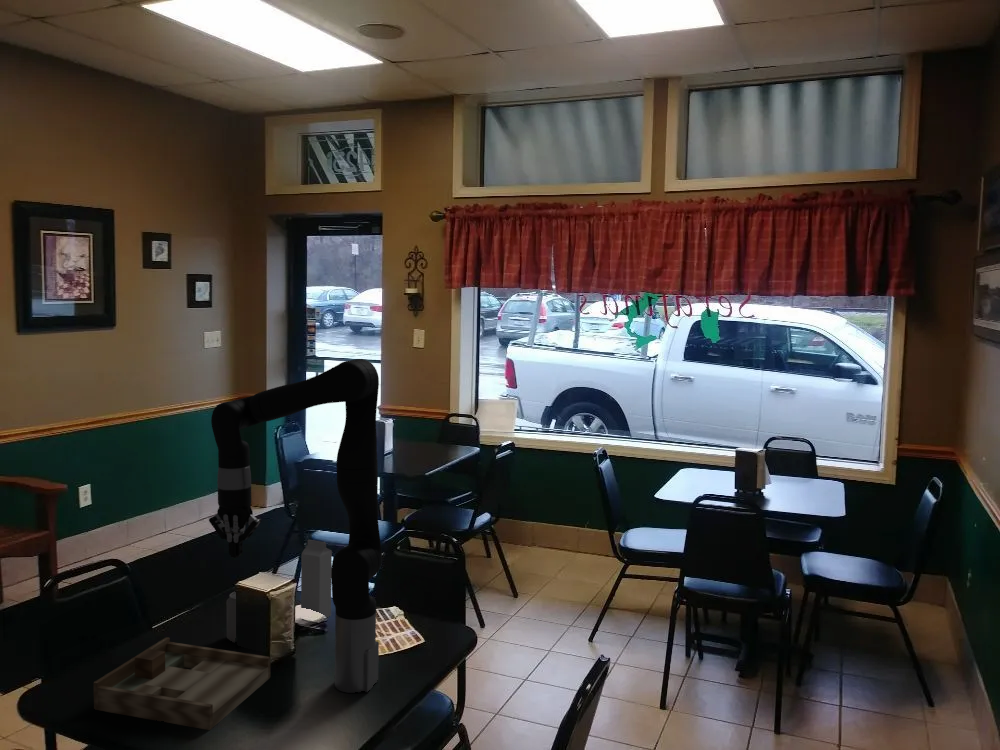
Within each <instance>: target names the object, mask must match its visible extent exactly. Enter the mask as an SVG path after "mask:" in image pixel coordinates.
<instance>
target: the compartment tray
mask: <svg viewBox="0 0 1000 750" xmlns="http://www.w3.org/2000/svg"><path fill="white" fill-rule="evenodd" d="M147 649H151V650H157V651H164V652H165V671H164V672H163V673H161V674H160V675H158V676H157V677H155V678H154V679H146V678H140V677H135V657H136V656H138V655H139V654H141V653H143V652H144V651H146V650H147ZM136 656H134V657H132V658H131V659H129V660H127V661H125V662H124V663H122V664H120V665H119V666H118V667H116V668H114V669H113V670H111V671H110V672H108V673H106V674H104V676H102V677H100V678H99V679H97V680H95V681H93V710H94V709H95V711H101V712H106V713H112V714H118V715H124V716H129V717H135V718H140V719H144V720H145V719H146V720H151V721H156V720H157V722H161V721H164V722H163V723H168V724H173V725H174V724H175V725H178V726H184V727H185V726H186V727H191V728H197V729H201V730H208V731H211V730H212V729H213V728H214V727H215V726H217V725H218V724H219V723H220V722H221V721H222V720H223V719H225V718H226V717H227V716H228V715H229V714H231V712H232V711H234V710H235V709H236V708H237V707H239V705H241V704H242V703H243V702H244V701H245V700H246V699H247V698H249V697H250V696H251V695H252V694H253V693H254V692H255V691H257V690H258V689H259V688H260V687H262V686H263V685H264V684H265V683H266V682H267V681H268V680H269V679H270V678H271V656H266V655H260V654H254V653H248V652H241V651H240V652H239V651H233V650H226V649H221V648H220V649H219V648H212V647H207V646H200V645H194V644H186V643H179V642H173V641H170V637H167V636H166V637H164V638H162V639H161V640H159V641H158V642H157V643H154V644H153V645H151V646H150V647H148V648H146V649H145V650H143V651H142V652H140V653H138V654H137V655H136Z"/></svg>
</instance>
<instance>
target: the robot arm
mask: <svg viewBox="0 0 1000 750" xmlns="http://www.w3.org/2000/svg"><path fill="white" fill-rule="evenodd" d="M379 387H380V378H379V374H378V371H377V368H376V367H375V366H374V364H373V363H372V362H370V361H369V360H366V359H362V358H359V359H351V360H346V361H342V362H340V363H339V364H337V365H335V366H334V367H331V368H329V369H327V370H325V371H323V372H321V373H320V374H318V375H315V376H313V377H309V378H307V379H304V380H301V381H298V382H293V383H289V384H284V385H280V386H276V387H274V388H269V389H266V390H263V391H260V392H258V393H254V394H253V395H250V396H247V397H246V396H245V397H242V398H238V399H234V400H230V401H224V402H221V403H219V404H217V405H216V406H215V407H214V409H213V410H212V414H211V417H210V418H211V419H210V420H211V429H212V432H213V437H214V440H215V444H216V447H217V450H218V452H217V455H218V460H217V461H218V467H217V468H218V469H217V482H216V483H217V504H218V508H217V513H216V514H215V515H213V516H211V517H210V518H208V522H209V523H210V525H211V526H212V527H213V529H214V530H215V532H216V533H217V535H218V536H219V538H220V539H221V540H226V541H227V542H228V554H229V555H230V558H232V559H234V558H235V559H238V558H240V557H241V555H243V552H244V550H243V549H244V546H243V543H244V541H246V540H248V539H249V538H250V539H251V536H252V535H253V534H254V532H255V531H256V530H257V529H258V527H259V526H260V524H261V523H262V519H261V518H257V516H255V515H253V509H252V507H251V506H252V472H251V462H250V460H251V459H250V458H251V457H250V454H251V453H250V452H251V451H250V445H249V443H248V442H247V441H246V440H242V437H241V432H240V431H241V430H243V429H246V428H249V427H252V426H256V425H258V424H261V423H265V422H270V421H274V420H278V419H281V418H285V417H289V416H290V415H293V414H297V413H299V412H302V411H303V410H307V409H309V408H313V407H317V406H320V405H325V404H334V403H335V404H336V403H342V402H343V403H345V422H344V427H343V432H342V435H341V439H340V441H339V446H338V450H337V454H336V486H337V487H336V488H337V492H338V493H339V494H338V495H339V497H340V500H341V502H342V504H343V506H344V509H345V511H346V513H347V517H348V526H349V527H348V531H349V533H348V535H349V536H348V545H347V546H345V547H343V548H342V549H339V550H338V551H337V553H336V554H335V555H334V556H333V559H332V569H331V600H332V602H333V605H334V608H335V609H334V610H335V621H334V622H335V625H334V626H335V627H334V629H335V630H334V631H335V632H334V687H335V688H336V689H337V691H340V692H343V693H346V694H347V693H350V694H356V693H355V692H358V693H362V692H361V691H365V692H364V693H369V692H370V691H371V690H372V688H373V687H374V686H375V685H376V684H375V683H377V682H378V681H379V656H380V655H379V650H380V649H379V647H380V643H379V641H377V640H376V638H377V637H376V635H377V634H376V632H377V629H376V628H377V600H376V599H375V597H373V596H372V595H370V580H371V579H372V578H374V577H375V576H376V575H377V574H378V573H379V572H380V571H381V570H380V569H381V567H382V564H383V551H382V544H381V535H380V527H379V526H380V525H379V496H378V491H379V490H378V489H379V488H378V487H379V486H378V485H379V484H378V483H379V480H378V479H379V478H378V477H379V476H378V474H379V472H378V469H379V468H378V467H379V466H378V465H379V464H378V441H377V439H378V437H377V411H378V409H377V407H378V399H379V398H378V397H379ZM247 524H248V527H247V528H246V525H247ZM377 680H378V681H377ZM374 684H375V685H374ZM373 685H374V686H373ZM369 690H370V691H369ZM368 691H369V692H368Z"/></svg>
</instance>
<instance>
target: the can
mask: <svg viewBox="0 0 1000 750" xmlns="http://www.w3.org/2000/svg"><path fill="white" fill-rule="evenodd" d="M228 597H229V598H227V599H226V639H227V640H229V641H230V642H231V641H232V643H235V638H236V592H235V591H233V592H231V593H229V595H228ZM235 644H236V643H235Z"/></svg>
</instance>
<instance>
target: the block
mask: <svg viewBox="0 0 1000 750" xmlns="http://www.w3.org/2000/svg"><path fill="white" fill-rule="evenodd" d="M146 649H147V650H146ZM146 649H145V650H146V651H145V650H143V651H144V652H143V651H142V652H143V653H142V652H140V653H141V654H140V653H138V654H139V655H138V654H137V655H138V656H137V655H136V657H135V656H134V657H135V677H140V678H146V679H154V678H155V677H157V676H158V675H160V674H161V673H163V672H164V671H165V652H164V651H157V650H151V649H148V648H146Z"/></svg>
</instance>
